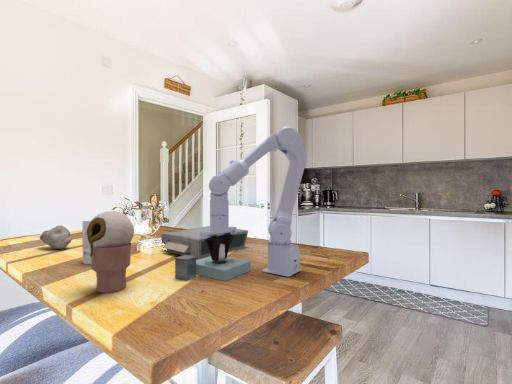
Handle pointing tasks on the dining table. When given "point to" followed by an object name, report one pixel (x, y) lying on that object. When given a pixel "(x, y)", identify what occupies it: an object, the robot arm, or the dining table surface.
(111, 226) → the ice cream cone
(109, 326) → the dining table surface
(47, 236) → the stone
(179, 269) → the square bar
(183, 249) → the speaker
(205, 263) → the socket block
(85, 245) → the ink box
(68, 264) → the dining table surface
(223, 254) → the round bit
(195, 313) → the dining table surface
